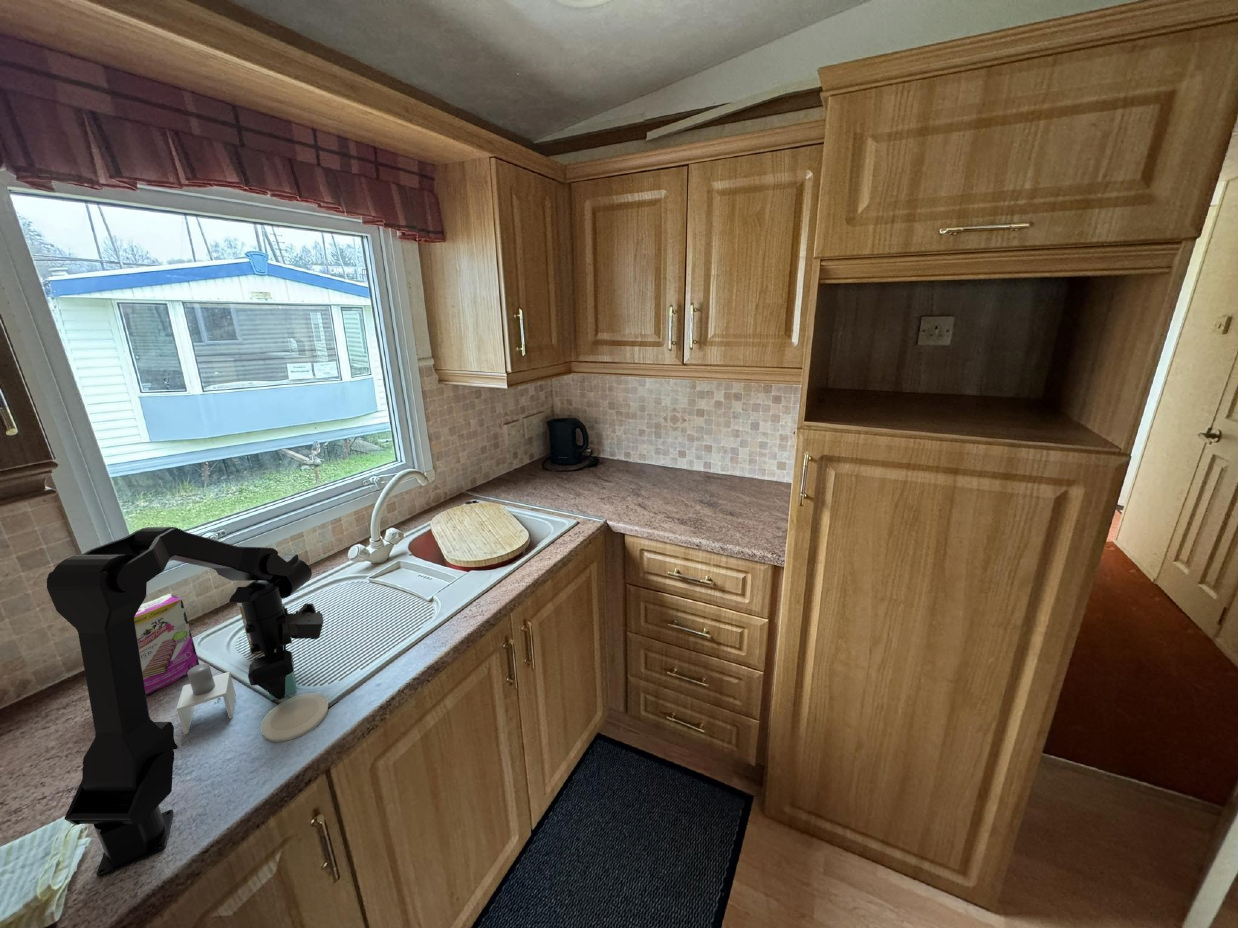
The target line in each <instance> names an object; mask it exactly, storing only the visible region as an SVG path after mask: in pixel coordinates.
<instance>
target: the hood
mask: <svg viewBox="0 0 1238 928" xmlns="http://www.w3.org/2000/svg"><path fill="white" fill-rule="evenodd" d="M199 664H200V665H197V666H195V667H193V668H191V669H190V670H189V671H188V672H187V674H188V675H187V677H188V680H189V683H188V684H184V685H182V689H181V692H180V695H179V699H178V702H177V706H176V712H177V716H178V718H179V721H180V724H181V727H182V731H183V734H184V735H186V734H189V733H190V728H191V725H192V720H193V717H194V712H195V706H198V705H201V704H204V703H207V702H210V701H213V700H217V699H219V698H223V702H224V704H225V708H226V711H227V716H228V718H229V719H232V718H234V713H235V712H234V711H235V706H236V699H237V693H236V690H235V685H234V683H233V678H232V676H231V672H230V671H227V672H224V673H221V674H218V675H214V676H213V672H212V669H211V666H210V664H209V663H199Z"/></svg>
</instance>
